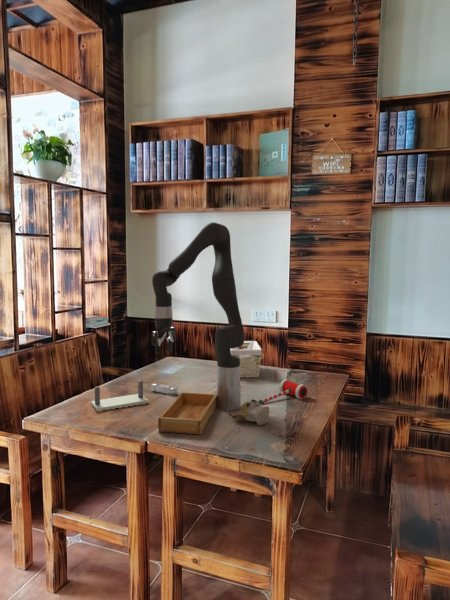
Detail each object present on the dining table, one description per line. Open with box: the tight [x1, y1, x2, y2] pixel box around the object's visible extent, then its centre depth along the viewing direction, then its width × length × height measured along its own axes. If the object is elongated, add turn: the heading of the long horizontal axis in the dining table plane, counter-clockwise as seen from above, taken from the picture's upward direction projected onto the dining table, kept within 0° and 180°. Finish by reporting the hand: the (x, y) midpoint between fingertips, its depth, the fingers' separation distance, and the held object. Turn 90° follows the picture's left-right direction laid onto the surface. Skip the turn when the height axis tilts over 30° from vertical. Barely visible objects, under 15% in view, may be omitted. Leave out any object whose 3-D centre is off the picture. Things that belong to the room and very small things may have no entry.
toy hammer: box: [258, 378, 309, 406], centre depth 195 cm, size 23×12×6 cm, turn 127°
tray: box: [157, 392, 218, 435], centre depth 173 cm, size 31×15×6 cm, turn 170°
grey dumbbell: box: [150, 382, 179, 396], centre depth 204 cm, size 14×4×3 cm, turn 59°
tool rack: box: [90, 379, 149, 412], centre depth 188 cm, size 21×10×8 cm, turn 119°
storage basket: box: [230, 340, 263, 379], centre depth 237 cm, size 24×16×15 cm
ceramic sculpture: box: [228, 399, 270, 426], centre depth 170 cm, size 11×9×15 cm
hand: (164, 352), depth 202 cm, fingers open, 8 cm apart
